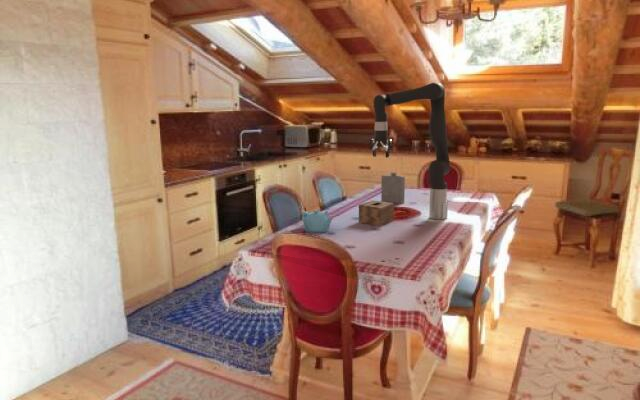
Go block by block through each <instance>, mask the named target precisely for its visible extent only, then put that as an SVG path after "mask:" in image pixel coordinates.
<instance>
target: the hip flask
mask: <svg viewBox="0 0 640 400" xmlns="http://www.w3.org/2000/svg"><path fill="white" fill-rule="evenodd" d="M405 185H406V176H402V175H398V174H397V171H391V172H390V174H389V175H388V174H387V175H386V174H381V188H380V191H381V192H380V195H381V196H380V198H381V200H380V201H381V202H388V203H394V204H402V205H404V204H405V194H406V193H405V191H406V190H405V188H406V186H405Z"/></svg>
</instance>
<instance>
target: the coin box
mask: <svg viewBox="0 0 640 400" xmlns="http://www.w3.org/2000/svg"><path fill="white" fill-rule="evenodd" d="M394 211H395V203H391V202H381V200H374V199H373V200H370V201H366V202H363V203H360V204H358V223H361V224H366V225H370V226H371V225H372V226H377V227H378V226H379V227H381V226H384V225H387V224H389V223H392V222H394V219H395V218H394V217H395V215H394V213H395V212H394Z"/></svg>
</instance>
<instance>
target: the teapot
mask: <svg viewBox="0 0 640 400" xmlns="http://www.w3.org/2000/svg"><path fill="white" fill-rule="evenodd" d="M332 220H333V217H332V216H329V210H324V212H321V211H319V210H318V209H313V211H311V212H308V211H306V210H305V211H303V212H302V216H301V221H302V223H303V224H302V226H303V229H304V231H305V232H307V233H310V234H321V233H322V234H323V233H326V232H327V231H329V230H330V227H331V226H330V225H331V223H332Z"/></svg>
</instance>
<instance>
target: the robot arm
mask: <svg viewBox="0 0 640 400" xmlns="http://www.w3.org/2000/svg"><path fill="white" fill-rule="evenodd" d="M445 95H446V89H445V87H444V85H442V83H440V82H431V83H429V84H426V85H423V86H421V87H416V88H412V89H405V90H399V91H394V92H392V93H386V94H377V95H376V96H374V99H373V103H372V105H373V111H374V115H375V116H374V138H371V139H369V150H371V151H372V156H373V157H374V158H375V157H377V149H378V148H379V147H380V148H383V149H384V150H385V158H387V159H388V158H389V157H390V151H392V150H393V140H392V139H388V126H389V125H388V113H387V111H386V107H391V106H394V105H395V106H396V105H402V104H406V103H411V102H413V101H419V100H430V110H431V111H430V116H429V123H428V126H429V127H428V131H429V138H430V141H431V143H432V146H433V148H434V149H435V150H434V151H435V158H436V160H432V161H431V162H430V164H429V166H428V183H429V208H428V209H429V213H428V214H429V215H428V217H429V219H432V220H442V221H443V220H445V219H447V218H448V210H449V209H448V208H449V207H448V205H449V203H448V202H449V201H448V200H447V195H448V183H447V182H446V181H445V178H444V177H445V176H446V175H448V174H449V172H450V170H451V162H450V156H449V151H448V139H447V136H448V134H447V133H448V132H447V130H448V129H447V121H446V120H447V119H446V111H445V99H446V97H445Z"/></svg>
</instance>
